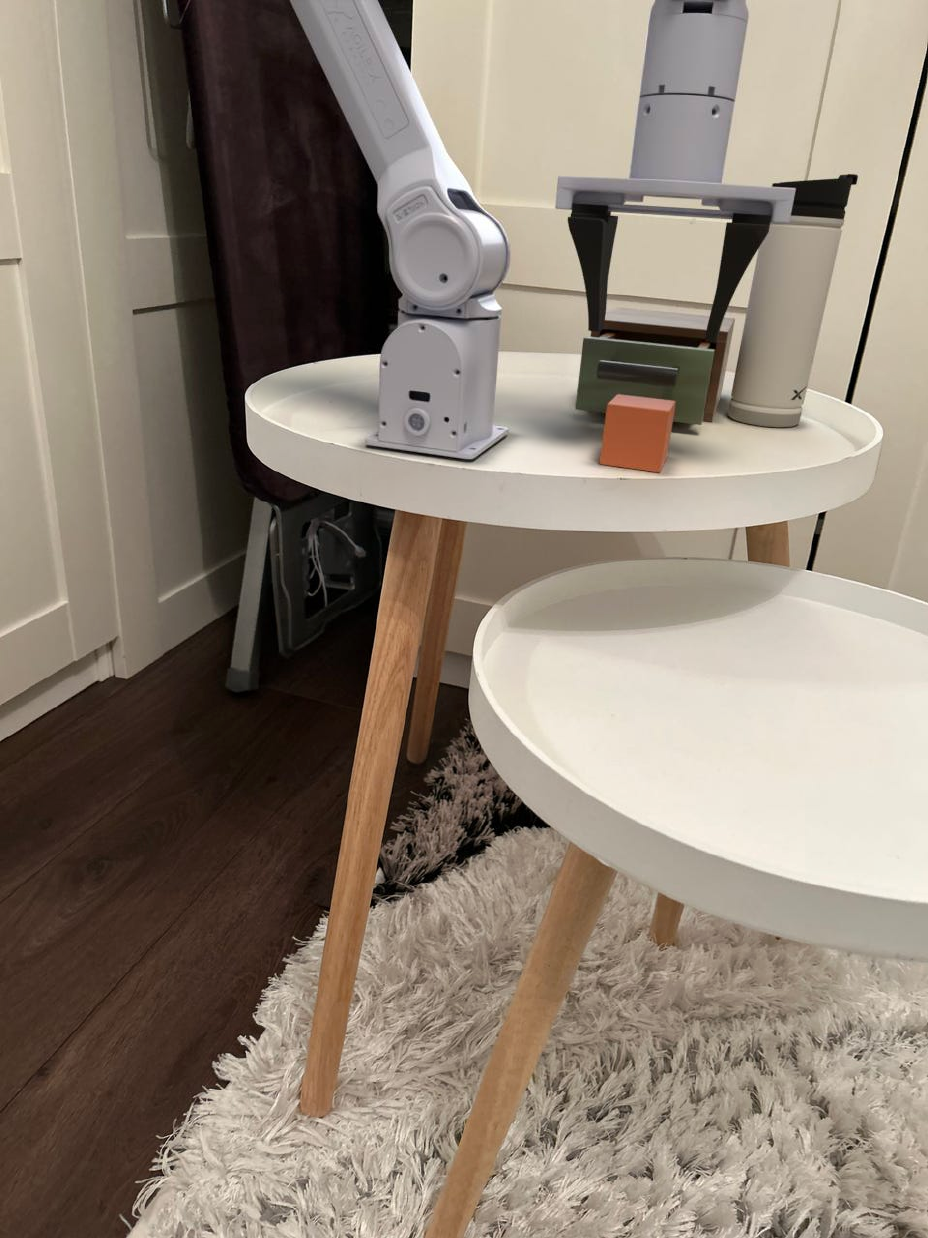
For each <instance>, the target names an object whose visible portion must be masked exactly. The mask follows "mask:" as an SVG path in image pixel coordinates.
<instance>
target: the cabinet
mask: <svg viewBox="0 0 928 1238" xmlns="http://www.w3.org/2000/svg"><path fill="white" fill-rule="evenodd" d="M709 317H710V315H703V314H693V313H683V312H682V313H681V312H671V311H661V310H660V311H659V310H649V309H638V308H628V307H616V308H614V309H611V310H609V311H606V316H605V322H604V328H603V329H602V330H600V331H599V332H596V331H590V337H597V338H599V337H600V336H602V335H604V334H606V333H607V332H609V331H611V330H617V331H627V332H637V333H647V334H657V335H667V336H677V337H687V338H697V339H705V338H706V331H707V325H708V321H709ZM735 322H736V318H734V317H725V316H724V319H723V322H722V325H721V328H720V332H719V336H718V340H717V342H716V343H713V348H712V349H714V350H715V353H714V358H713V364H712V370H711V376H710V381H709V387H708V393H707V398H706V404H705V410H704V415H703V421H702V422H710V423H713V421H714V417H715V415H716V412H717V409H718V406H719V403H720V400H721V398H722V394H723V387H724V383H725V377H726V371H727V365H728V359H729V355H730V350H731V349H730V348H731V344H732V338H733V332H734V329H735V328H734V327H735Z"/></svg>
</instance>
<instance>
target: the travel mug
mask: <svg viewBox="0 0 928 1238" xmlns="http://www.w3.org/2000/svg"><path fill="white" fill-rule="evenodd" d="M858 179H859V176H858V174H856V173H854V174H853V173H847V174H840V175H839V176H838V177H837V178H823V179H809V180H795V181H794V180H793V181H782V182H773V183H772V185H771V186H770V187H783V188H795V189H796V191H795V196H794V201H793V206H792V211H791V216H790V221H789V223H773V222H770V228H769V233H768V234H767V236H766V237H765V239H764V241H763V242H762V244H761V245H760V247H759V249H758V250H757V255H756V261H755V265H754V272H753V277H752V280H751V281H752V282H751V285H750V293H749V297H748V303H747V309H746V314H745V319H744V324H743V330H742V336H741V340H740V346H739V351H738V357H737V361H736V367H735V373H734V377H733V383H732V390H731V394H730V395H731V398H730V399H729V404H728V410H727V416H728V417H729V418H730V419H732V420H733V421H736V422H740V423H742V424H748V425H754V426H758V427H768V428H791V427H796V426H798V424H799V423H800V422H801V417H802V413H803V406H802V405H804V403H805V399H806V395H807V390H808V385H809V382H810V377H811V374H812V368H813V364H814V359H815V356H816V355H815V354H816V349H817V345H818V340H819V337H820V331H821V326H822V324H823V323H822V322H823V319H824V314H825V309H826V305H827V300H828V296H829V292H830V288H831V287H830V286H831V282H832V277H833V273H834V269H835V264H836V260H837V255H838V252H839V251H838V250H839V246H840V242H841V238H842V232H843V229H842V227H843V226H844V225H845V224H844V223H845V216H846V207H847V206H848V202H849V197H850V193H851V189H852V186H856V185H857V183H858Z"/></svg>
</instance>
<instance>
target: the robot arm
mask: <svg viewBox="0 0 928 1238" xmlns="http://www.w3.org/2000/svg"><path fill="white" fill-rule="evenodd" d="M289 2H290V4H291V7H292V8H293V10H294V12H295V14H296V17H297V19H298V21H299V23H300V25H301V27H302V30H303V31H304V33H305V36H306V37H307V39H308V42H309V44H310V46H311V49H312V50H313V53H314V54H315V56H316V58H317V61H318V63H319V64H320V67H321V69H322V71H323V73H324V75H325V77H326V80H327V82H328V84H329V86H330V88H331V91H332V92H333V94H334V96H335V98H336V101H337V102H338V104H339V107H340V108H341V111H342V113H343V115H344V117H345V119H346V121H347V123H348V125H349V128H350V129H351V131H352V134H353V136H354V138H355V140H356V142H357V144H358V146H359V148H360V150H361V152H362V154H363V157H364V159H365V161H366V163H367V165H368V167H369V169H370V171H371V173H372V175H373V177H374V180H375V182H376V184H377V203H376V208H377V209H376V210H377V215H378V218H379V219H380V221H381V223H382V225H383V227H384V230H385V233H386V237H387V241H388V261H389V269H390V273H391V276H392V279H393V281H394V283H395V285H396V287H397V289H398V290H399V291H400V292H401V294H402V296H401V297H400V298H398V309H399V310H397V313H398V314H397V328H396V329H394V330H393V331H392V332H391V333H390V334H389V336H388V337H387V339H386V340H385V342H384V344H383V346H382V348H381V352H380V356H379V371H378V372H379V375H378V378H379V379H378V381H379V382H378V384H379V385H378V422H377V423H378V425H377V426H378V429H377V430H378V431H377V432H375V433H373V434H371V435H369V436H367V437H366V438H365V444H366V445H367V446H372V447H373V446H374V447H380V448H386V449H393V450H400V451H407V452H415V453H422V454H428V455H435V456H443V457H448V458H456V459H462V460H473V459H475V458H477V457H478V456H479V455H481V454H482V453H483V452H485V451H486V450H487V449H489V448H490V447H492V446H493V445H494V444H496V443H497V442H499V441H500V440H501V439H502V438H505V436H507V435H508V434H509V427H507V426H502V425H494V416H495V404H496V389H497V378H498V377H497V376H498V365H499V364H498V363H499V351H500V338H501V323H502V317H501V315H502V311H503V308H502V307H501V306H500V304H499V303H498V301H497V300H496V295H495V294H494V293H495V291H497V290H498V289H499V287H501V285H502V284H503V283H504V281H505V278H506V277H507V275H508V272H509V269H510V265H511V246H510V245H511V244H510V241H509V238H508V234H507V232H506V231H505V229H504V227H503V225H502V224H501V223H500V222H499V221H498V219H497V218H495V217H494V216H493V215H492V214H490V212H488V211H486V209H484V208H483V206H481V205H480V203H479V202H478V200H477V199H476V197H475V195H474V193H473V190H472V188H471V186H470V184H469V181H467V179H466V178H465V176H464V174H462V172H461V171H460V169H459V168H458V167H457V165H456V164H455V162H454V161H453V160H452V158H451V157H450V155H449V154H448V152H447V150H446V147H445V145H444V143H443V141H442V139H441V136H440V135H439V132H438V130H437V127H436V126H435V124H434V121H433V119H432V117H431V114H430V112H429V110H428V108H427V106H426V104H425V101H424V99H423V97H422V95H421V93H420V90H419V88H418V86H417V83H416V82H415V80H414V77H413V75H412V73H411V71H410V69H409V66H408V64H407V61H406V59H405V57H404V55H403V53H402V50H401V48H400V46H399V44H398V42H397V39H396V38H395V37H396V36H395V35H394V33H393V31H392V29H391V27H390V25H389V22H388V20H387V17H386V15H385V13H384V11H383V8H382V7H381V5H380V2H379V0H289ZM749 12H750V11H749V9H748V5H747V0H654V2H653V4H652V5H651V8H650V9H649V12H648V13H649V14H648V20H647V21H648V22H647V29H646V39H645V45H644V53H643V59H642V60H643V62H642V70H641V76H640V77H641V78H640V86H639V93H638V100H637V107H636V110H637V111H636V118H635V125H634V133H633V142H632V149H631V157H630V166H629V167H630V168H629V174H628V178H627V177H625V178H624V177H602V176H601V177H598V176H597V177H596V176H595V177H594V176H571V175H558V176H557V184H556V194H555V195H556V196H555V204H554V205H555V206H554V209H556V210H564V211H566V210H567V211H571V213H570V216H568V217H567V225H568V230H569V233H570V236H571V239H572V241H573V244H574V247H575V251H576V254H577V257H578V262H579V265H580V270H581V274H582V279H583V283H584V290H585V296H586V304H587V319H588V320H587V321H588V322H587V325H588V326H587V327H588V328H587V329H588V330H587V331H589V332H591V331H596V332H599V331H600V330H602V329H603V328H604V322H605V316H606V313H607V303H608V285H609V274H610V267H611V261H612V255H613V249H614V243H615V238H616V233H617V228H618V223H619V222H618V221H619V215H612V213H621V214H622V213H623V214H636V215H637V214H638V215H652V216H653V215H654V216H668V217H669V216H671V217H686V218H700V219H701V218H702V219H715V220H717V219H718V220H731V222H730V221H727V222H726V224H725V229H724V238H723V244H722V251H721V258H720V264H719V270H718V276H717V283H716V288H715V289H716V290H715V294H714V297H713V301H712V305H711V310H710V314H709V316H710V317H709V321H708V325H707V331H706V338H705V342H708V343H716V342H717V340H718V336H719V332H720V328H721V325H722V322H723V319H724V317H725V316H726V314H727V311H728V308H729V306H730V303H731V301H732V299H733V297H734V294H735V292H736V290H737V288H738V286H739V284H740V282H741V280H742V278H743V276H744V275H745V273H746V271H747V269H748V267H749V266H750V265H751V262H752V260H753V259H754V257H755V255H756V253H758V249H759V247H760V245H761V244H762V242H763V241H764V239H765V237H766V236H767V234H768V233H769V228H770V222H773V223H789V221H790V216H791V211H792V206H793V201H794V196H795V191H796V189H795V188H783V187H771V186H767V185H752V184H751V185H749V184H738V183H737V184H736V183H722V181H723V175H724V169H725V164H726V159H727V151H728V146H729V145H728V144H729V140H730V139H729V138H730V133H731V127H732V121H733V117H734V108H735V102H736V99H737V98H736V97H737V91H738V86H739V81H740V73H741V66H742V61H743V54H744V48H745V42H746V36H747V32H748V25H749V18H750V13H749ZM644 197H649V198H651V197H652V198H665V199H680V200H681V199H682V200H701V203H700V204H701V206H702V207H712V208H718V209H710V208H709V209H708V208H693V207H692V208H691V207H675V206H660V205H659V206H658V205H645V204H644V205H641V204H628V202H629V203H643V202H644ZM626 203H627V204H626Z"/></svg>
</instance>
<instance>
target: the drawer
mask: <svg viewBox="0 0 928 1238" xmlns="http://www.w3.org/2000/svg"><path fill="white" fill-rule="evenodd" d="M581 346H582V348H581V355H580V356H581V357H580V362H579V363H580V365H579V373H578V382H577V389H576V390H577V392H576V399H575V410H576V411H584V412H592V413H593V412H594V413H601V414H606V410H607V404H608V403H609V402H610V401H611V400H612V399H613V398H614V397H615V396H616V395H617V394H621V395H629V396H638V397H646V398H655V399H663V400H671V401H676V404H675V410H674V417H673V422H674V423H682V424H688V425H689V424H690V425H697V426H701V425H702V424H703V422H704V421H703V415H704V410H705V404H706V398H707V393H708V387H709V381H710V376H711V370H712V364H713V358H714V353H715V350H714V349H712V348H713V343H708V342H705V339H697V338H687V337H677V336H667V335H657V334H647V333H637V332H627V331H617V330H611V331H609V332H607V333H606V334H604V335H602V336H600V337H599V338H597V337H591V336H585V337H584V336H583V339H582V345H581Z"/></svg>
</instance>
